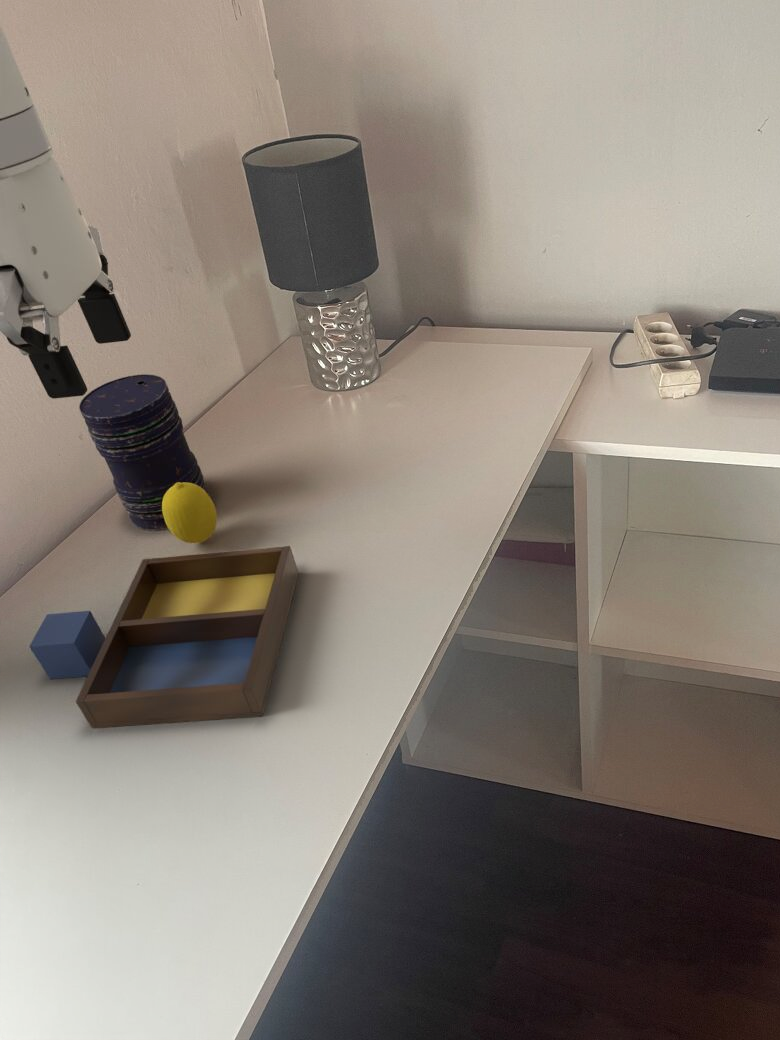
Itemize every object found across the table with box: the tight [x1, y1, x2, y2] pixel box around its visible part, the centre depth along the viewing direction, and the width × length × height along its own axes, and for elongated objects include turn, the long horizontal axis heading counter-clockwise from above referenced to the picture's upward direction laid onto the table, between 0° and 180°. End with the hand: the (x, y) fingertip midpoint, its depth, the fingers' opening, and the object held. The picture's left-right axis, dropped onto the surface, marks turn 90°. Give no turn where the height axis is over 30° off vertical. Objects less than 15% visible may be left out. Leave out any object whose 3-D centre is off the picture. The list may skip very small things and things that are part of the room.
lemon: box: [162, 482, 218, 544], centre depth 95 cm, size 6×6×8 cm
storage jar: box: [78, 373, 210, 532], centre depth 100 cm, size 10×10×15 cm
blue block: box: [29, 610, 106, 680], centre depth 84 cm, size 4×4×4 cm
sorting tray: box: [75, 545, 300, 729], centre depth 84 cm, size 16×20×4 cm
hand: (93, 366), depth 73 cm, fingers open, 9 cm apart
